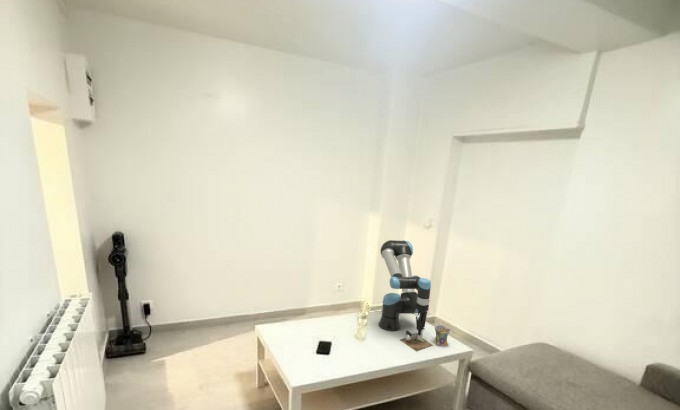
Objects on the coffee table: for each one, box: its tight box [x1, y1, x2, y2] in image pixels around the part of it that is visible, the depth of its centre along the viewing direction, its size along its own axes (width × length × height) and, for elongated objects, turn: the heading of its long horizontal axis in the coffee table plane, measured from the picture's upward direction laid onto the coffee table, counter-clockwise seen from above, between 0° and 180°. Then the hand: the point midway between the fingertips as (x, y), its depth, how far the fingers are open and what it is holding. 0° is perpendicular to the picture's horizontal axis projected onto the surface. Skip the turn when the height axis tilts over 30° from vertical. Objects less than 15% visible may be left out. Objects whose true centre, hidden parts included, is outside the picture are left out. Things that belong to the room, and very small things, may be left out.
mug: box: [433, 325, 451, 348], centre depth 202 cm, size 12×9×11 cm
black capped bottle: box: [404, 330, 419, 342], centre depth 203 cm, size 12×4×6 cm, turn 113°
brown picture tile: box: [399, 337, 434, 352], centre depth 200 cm, size 15×15×1 cm
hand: (419, 339), depth 202 cm, fingers closed
